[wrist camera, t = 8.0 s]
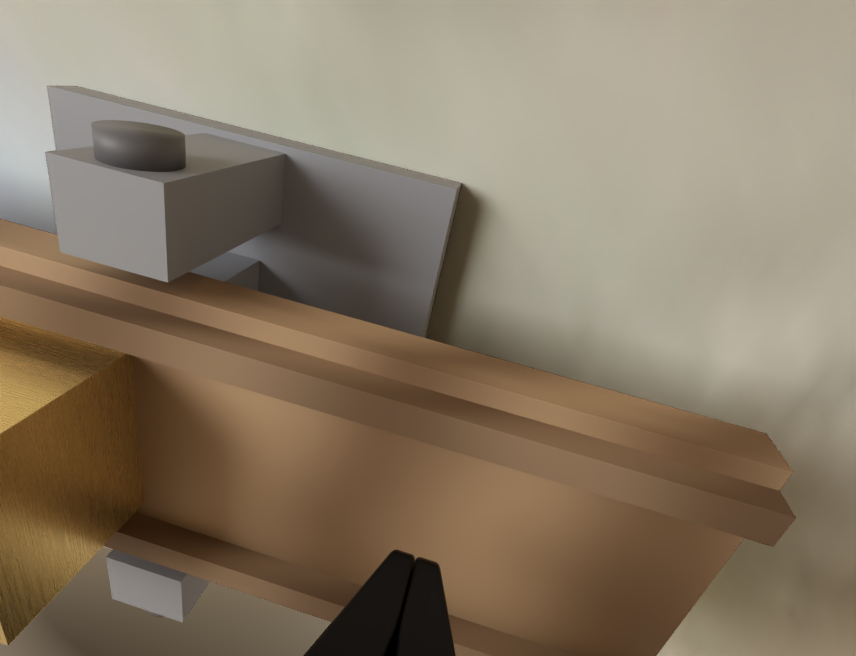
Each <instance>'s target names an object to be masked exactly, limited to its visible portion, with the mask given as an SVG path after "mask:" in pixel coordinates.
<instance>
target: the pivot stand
mask: <svg viewBox="0 0 856 656" xmlns="http://www.w3.org/2000/svg"><path fill="white" fill-rule="evenodd" d="M47 90H48V97H49V104H50V111H51V118H52V126H53V133H54V140H55V147H56V151H48V152H45V154H46V161H47V167H48V174H49V181H50V187H51V194H52V201H53V207H54V214H55V221H56V227H57V234H58V241H59V247H60V252H61V253H64V254H68V255H72V256H75V257H79V258H82V259H86V260H89V261H93V262H96V263H100V264H104V265H107V266H111V267H114V268H118V269H121V270H125V271H128V272H132V273H136V274H139V275H143V276H146V277H150V278H153V279H157V280H160V281H164V282H170V281H172V280H174V279H176V278H178V277H180V276H182V275H184V274H185V273H187V272H191V273H195V274H198V275H202V276H206V277H209V278H213V279H216V280H220V281H223V282H227V283H231V284H234V285H238V286H241V287H245V288H248V289H252V290H255V291H259V292H263V293H266V294H270V295H273V296H277V297H280V298H284V299H288V300H291V301H295V302H298V303H302V304H305V305H309V306H313V307H316V308H320V309H323V310H327V311H330V312H334V313H338V314H341V315H345V316H348V317H352V318H355V319H359V320H362V321H366V322H370V323H373V324H377V325H380V326H384V327H387V328H391V329H395V330H398V331H402V332H405V333H409V334H412V335H416V336H420V337H423V338H425V337H426V333H427V328H428V324H429V320H430V316H431V311H432V307H433V303H434V299H435V294H436V290H437V286H438V282H439V277H440V273H441V269H442V264H443V260H444V256H445V252H446V247H447V243H448V239H449V235H450V230H451V226H452V222H453V217H454V213H455V209H456V205H457V200H458V196H459V192H460V188H461V183H459V182H455V181H451V180H447V179H443V178H439V177H435V176H431V175H427V174H423V173H419V172H415V171H411V170H407V169H404V168H400V167H396V166H392V165H388V164H384V163H380V162H376V161H372V160H368V159H364V158H360V157H356V156H352V155H348V154H344V153H340V152H336V151H332V150H328V149H324V148H320V147H316V146H312V145H308V144H304V143H300V142H296V141H292V140H288V139H284V138H280V137H276V136H272V135H268V134H264V133H260V132H257V131H253V130H249V129H245V128H241V127H237V126H233V125H229V124H225V123H221V122H217V121H213V120H209V119H205V118H201V117H197V116H193V115H189V114H185V113H181V112H177V111H173V110H169V109H165V108H161V107H157V106H153V105H149V104H145V103H141V102H137V101H133V100H129V99H125V98H121V97H117V96H113V95H110V94H106V93H102V92H98V91H94V90H90V89H86V88H82V87H78V86H47ZM106 560H107V566H108V574H109V580H110V586H111V593H112V599H115V600H118V601H121V602H124V603H127V604H129V605H133V606H135V607H139V608H141V609H144V610H145V611H146V612H147V613H148V614H150V615H152V616H155V617H168V618H171V619H174V620H177V621H180V622H184V620H185V619H186V617H187V615H188V614H189V613H190V611H191V610H192V608H193V606H194V605H195V603H196V602H197V600H198V599H199V597H200V596H201V594H202V593H203V591H204V589H205V588H206V587H207V585H208V583H209V582H210V581H207V580H204V579H201V578H198V577H195V576H192V575H189V574H186V573H183V572H180V571H177V570H174V569H171V568H168V567H165V566H162V565H159V564H156V563H153V562H150V561H148V560H145V559H142V558H139V557H136V556H133V555H130V554H127V553H124V552H121V551H118V550H115V549H113V550H112V551H111V552H110V554H108V556H107V557H106Z"/></svg>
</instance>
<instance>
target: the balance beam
mask: <svg viewBox="0 0 856 656" xmlns="http://www.w3.org/2000/svg"><path fill="white" fill-rule="evenodd" d="M0 316H1V317H5V318H8V319H11V320H15V321H18V322H22V323H25V324H28V325H32V326H35V327H38V328H42V329H45V330H48V331H52V332H55V333H58V334H62V335H65V336H68V337H72V338H75V339H79V340H82V341H85V342H89V343H92V344H95V345H99V346H102V347H105V348H109V349H112V350H115V351H119V352H122V353H126V354H129V355H131V357H132V368H133V379H134V390H135V401H136V412H137V423H138V434H139V445H140V456H141V467H142V478H143V489H144V500H145V503H144V504H143V505H142V506H141V507H140V508H139V509H138V510H137V511H136V512H135V513H134V514H133V515H132V516H131V517H130V518H129V519H128V520H127V521H126V523H125V524H124V525H123V526H122V527H121V528H120V529H119V530H118V531H117V532H116V533H115V534H114V535H113V536H112V537H111V538H110V539H109V540H108V541H107V542H106V544H105V545H104V546H106V547H109V548H112V549H115V550H118V551H121V552H124V553H127V554H130V555H133V556H136V557H139V558H142V559H145V560H148V561H150V562H153V563H156V564H159V565H162V566H165V567H168V568H171V569H174V570H177V571H180V572H183V573H186V574H189V575H192V576H195V577H198V578H201V579H204V580H207V581H210V582H214V583H216V584H219V585H222V586H225V587H229V588H231V589H234V590H237V591H241V592H243V593H246V594H249V595H252V596H256V597H258V598H261V599H264V600H267V601H270V602H274V603H276V604H280V605H282V606H285V607H288V608H291V609H294V610H297V611H300V612H303V613H307V614H310V615H312V616H315V617H318V618H321V619H324V620H327V621H330V622H332V621H333V620H334V619H335V618H336V616H337V615H338V614H339V613H340V612H341V611H342V609H343V608H344V607H345V606H346V605H347V603H348V602H349V601H350V600H351V599H352V597H353V596H354V595H355V594H356V593H357V592H358V590H359V589H360V588H361V587H362V586H363V584H364V583H365V582H366V581H367V580H368V578H369V577H370V576H371V575H372V574H373V573H374V571H375V570H376V569H377V568H378V567H379V565H380V564H381V563H382V562H383V561H384V559H385V558H386V557H387V556H388V555H389V554H390V552H391V551H393V550H395V549H397V550H401V551H404V552H407V553H410V554H413V555H414V556H415V560H416V558H417V557H423V558H426V559H429V560H432V561H435V562H437V563H438V564H439V566H440V569H441V575H442V581H443V586H444V592H445V597H446V603H447V609H448V614H449V620H450V626H451V631H452V637H453V643H454V648H455V654H456V656H656V655H657V654H658V653H659V651H660V650H661V649H662V647H663V646H664V645H665V643H666V642H667V641H668V639H669V638H670V637H671V635H672V634H673V633H674V631H675V630H676V629H677V627H678V626H679V625H680V623H681V622H682V621H683V619H684V618H685V617H686V615H687V614H688V612H689V611H690V610H691V608H692V607H693V606H694V604H695V603H696V602H697V600H698V599H699V598H700V596H701V595H702V594H703V592H704V591H705V590H706V588H707V587H708V586H709V584H710V583H711V582H712V580H713V579H714V578H715V576H716V575H717V574H718V572H719V571H720V570H721V568H722V567H723V565H724V564H725V563H726V561H727V560H728V559H729V557H730V556H731V555H732V553H733V552H734V551H735V549H736V548H737V547H738V545H739V544H740V543H741V541H742V540H743V539H744V538H746V539H749V540H753V541H756V542H759V543H763V544H766V545H769V546H774V545H775V544H776V543H777V541H778V540H779V539H780V538H781V536H782V535H783V534H784V533H785V531H786V530H787V529H788V527H789V526H790V525H791V524H792V522H793V521H794V520H795V519H796V517H795V515H794V514H793V512H792V511H791V509H790V507H789V506H788V504H787V503H786V501H785V499H784V498H783V496H782V494H781V493H780V491H779V490H780V489H781V488H782V486H783V485H784V484H785V482H786V481H787V480H788V478H789V477H790V476H791V474H792V473H793V471H792V470H791V469H790V467H789V466H788V464H787V463H786V461H785V460H784V458H783V457H782V455H781V454H780V452H779V451H778V450H777V448H776V447H775V445H774V444H773V442H772V441H771V439H770V438H769V436H768V435H767V434H765V433H762V432H758V431H755V430H751V429H748V428H744V427H741V426H737V425H733V424H730V423H726V422H723V421H719V420H716V419H712V418H708V417H705V416H701V415H698V414H694V413H691V412H687V411H683V410H680V409H676V408H673V407H669V406H666V405H662V404H658V403H655V402H651V401H648V400H644V399H641V398H637V397H634V396H630V395H626V394H623V393H619V392H616V391H612V390H609V389H605V388H601V387H598V386H594V385H591V384H587V383H584V382H580V381H576V380H573V379H569V378H566V377H562V376H559V375H555V374H551V373H548V372H544V371H541V370H537V369H534V368H530V367H527V366H523V365H519V364H516V363H512V362H509V361H505V360H502V359H498V358H494V357H491V356H487V355H484V354H480V353H477V352H473V351H469V350H466V349H462V348H459V347H455V346H452V345H448V344H445V343H441V342H437V341H434V340H430V339H427V338H423V337H420V336H416V335H412V334H409V333H405V332H402V331H398V330H395V329H391V328H387V327H384V326H380V325H377V324H373V323H370V322H366V321H362V320H359V319H355V318H352V317H348V316H345V315H341V314H338V313H334V312H330V311H327V310H323V309H320V308H316V307H313V306H309V305H305V304H302V303H298V302H295V301H291V300H288V299H284V298H280V297H277V296H273V295H270V294H266V293H263V292H259V291H255V290H252V289H248V288H245V287H241V286H238V285H234V284H231V283H227V282H223V281H220V280H216V279H213V278H209V277H206V276H202V275H198V274H195V273H191V272H187V273H185V274H184V275H182V276H180V277H178V278H176V279H174V280H172V281H170V282H164V281H160V280H157V279H153V278H150V277H146V276H143V275H139V274H136V273H132V272H128V271H125V270H121V269H118V268H114V267H111V266H107V265H104V264H100V263H96V262H93V261H89V260H86V259H82V258H79V257H75V256H72V255H68V254H64V253H61V252H60V247H59V241H58V235H56V234H52V233H49V232H45V231H41V230H38V229H34V228H31V227H27V226H24V225H20V224H17V223H13V222H9V221H6V220H2V219H0ZM413 567H414V566H413Z"/></svg>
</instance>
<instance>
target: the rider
mask: <svg viewBox="0 0 856 656" xmlns="http://www.w3.org/2000/svg"><path fill="white" fill-rule="evenodd" d="M144 503H145V500H144V489H143V478H142V467H141V456H140V445H139V434H138V423H137V412H136V401H135V390H134V379H133V368H132V357H131V355H129V354H126V353H122V352H119V351H115V350H112V349H109V348H105V347H102V346H99V345H95V344H92V343H89V342H85V341H82V340H79V339H75V338H72V337H68V336H65V335H62V334H58V333H55V332H52V331H48V330H45V329H42V328H38V327H35V326H32V325H28V324H25V323H22V322H18V321H15V320H11V319H8V318H5V317H1V316H0V643H2V644H5V645H9V644H10V643H11V642H12V641H13V640H14V639H15V638H16V637H17V636H18V635H19V634H20V633H21V632H22V631H23V630H24V628H25V627H26V626H27V625H28V624H29V623H30V622H31V621H32V620H33V619H34V618H35V617H36V616H37V615H38V614H39V612H41V611H42V609H43V608H44V607H45V606H46V605H47V604H48V603H49V602H50V601H51V600H52V599H53V598H54V597H55V596H56V595H57V594H58V593H59V592H60V591H61V590H62V588H63V587H65V585H66V584H67V583H68V582H69V581H70V580H71V579H72V578H73V577H74V576H75V575H76V574H77V573H78V572H79V571H80V570H81V569H82V568H83V566H85V564H86V563H87V562H88V561H89V560H90V559H91V558H92V557H93V556H94V555H95V554H96V553H97V552H98V551H99V550H100V549H101V548H102V547H103V546H104V545H105V544H106V542H107V541H108V540H109V539H110V538H111V537H112V536H113V535H114V534H115V533H116V532H117V531H118V530H119V529H120V528H121V527H122V526H123V525H124V524H125V523H126V521H127V520H128V519H129V518H130V517H131V516H132V515H133V514H134V513H135V512H136V511H137V510H138V509H139V508H140V507H141V506H142V505H143V504H144Z"/></svg>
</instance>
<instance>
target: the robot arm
mask: <svg viewBox="0 0 856 656" xmlns="http://www.w3.org/2000/svg"><path fill="white" fill-rule="evenodd" d="M413 566H414V567H413ZM304 656H456V654H455V648H454V643H453V637H452V631H451V626H450V620H449V614H448V609H447V603H446V597H445V592H444V586H443V581H442V575H441V569H440V566H439V564H438V563H437V562H435V561H432V560H429V559H426V558H423V557H417V558H416V560H415V556H414V555H413V554H410V553H407V552H404V551H401V550H397V549H395V550H393V551H391V552H390V554H389V555H388V556H387V557H386V558H385V559H384V561H383V562H382V563H381V564H380V565H379V567H378V568H377V569H376V570H375V571H374V573H373V574H372V575H371V576H370V577H369V578H368V580H367V581H366V582H365V583H364V584H363V586H362V587H361V588H360V589H359V590H358V592H357V593H356V594H355V595H354V596H353V597H352V599H351V600H350V601H349V602H348V603H347V605H346V606H345V607H344V608H343V609H342V611H341V612H340V613H339V614H338V615H337V616H336V618H335V619H334V620H333V621H332V623H331V624H330V625H329V626H328V627H327V628H326V630H325V631H324V632H323V633H322V634H321V635H320V637H319V638H318V639H317V640H316V641H315V643H314V644H313V645H312V646H311V647H310V649H309V650H308V651H307V652H306V653H305V655H304Z"/></svg>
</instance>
